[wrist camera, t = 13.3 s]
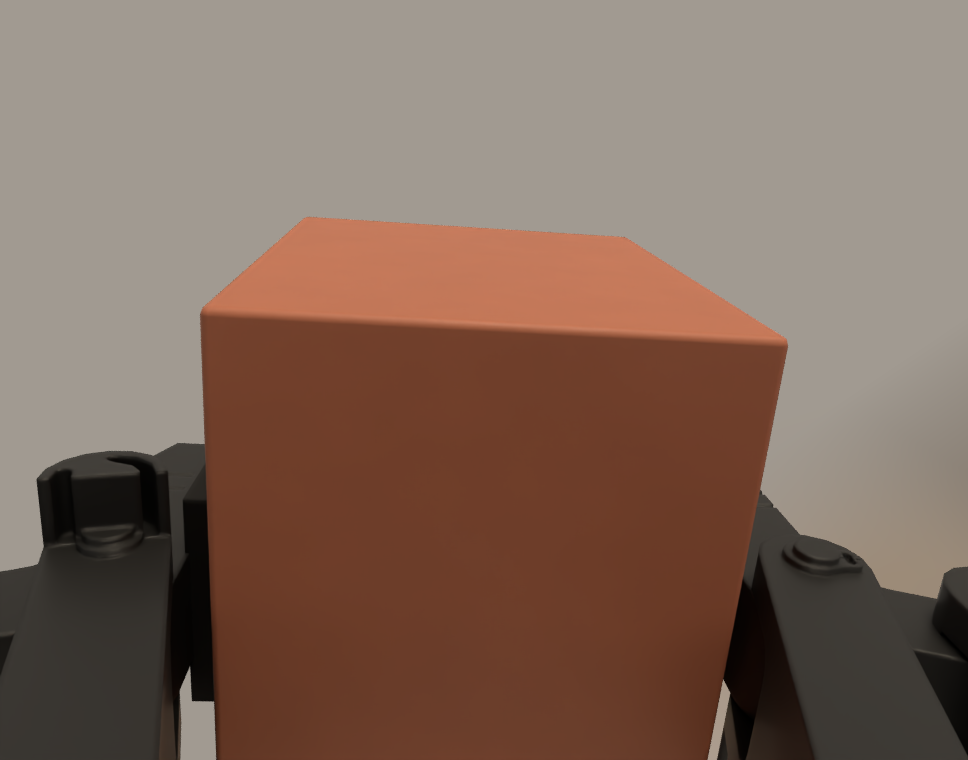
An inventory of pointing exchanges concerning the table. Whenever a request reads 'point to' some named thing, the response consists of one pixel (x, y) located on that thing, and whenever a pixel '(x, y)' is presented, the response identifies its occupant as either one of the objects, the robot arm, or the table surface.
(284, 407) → the block
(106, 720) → the robot arm
